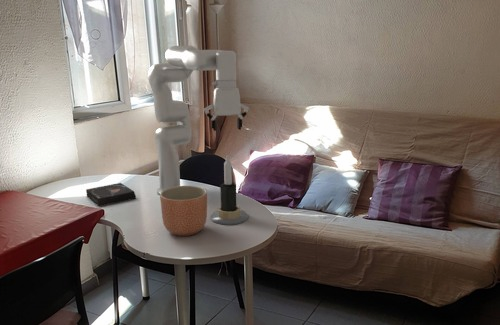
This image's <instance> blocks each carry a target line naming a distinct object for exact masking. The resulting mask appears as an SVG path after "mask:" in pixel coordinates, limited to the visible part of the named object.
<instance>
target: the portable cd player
mask: <svg viewBox="0 0 500 325" xmlns="http://www.w3.org/2000/svg"><path fill="white" fill-rule="evenodd" d="M85 192H86V197H87V198H88V199H89V200H90V201H91V202H93V203H94V204H95V205H96V206H97V207H103V206H107V205H111V204H117V203H122V202H125V201H130V200H131V201H132V200H135V199H136V197H137V196H136V192H135V191H134V190H133V189H131V188H130V187H128V186H126V185H124V184H123V183H122V182H117V183H112V184H107V185H102V186H97V187H91V188H87V189H86V190H85Z"/></svg>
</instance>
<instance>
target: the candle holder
mask: <svg viewBox="0 0 500 325" xmlns="http://www.w3.org/2000/svg"><path fill="white" fill-rule="evenodd" d="M236 207H237V210H235V211H231V212H226V211H222V210H221V205H220V206H218V207H217V210H215V211H213V212H212V213H211V214H210V220H211V221H212V222H213V223H215V224H219V225H223V226H235V225H239V224H243V223H244V222H246V221H247V220H248V219H249V218H248V217H249V214H248V212H247V211H244V210H242V209H241V207H240V206H239V205H237V204H236Z"/></svg>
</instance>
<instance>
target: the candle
mask: <svg viewBox="0 0 500 325" xmlns="http://www.w3.org/2000/svg"><path fill="white" fill-rule="evenodd" d="M223 171H224V172H223V174H224V175H223V176H224V178H223V179H224V182H222V184H219V188H220V206H221V210H222V211H226V212H231V211H235V210H237V207H236V205H237V184H235V183H234V182H233V178H232V177H233V176H232V175H233V174H232V173H233V172H232V162H231V161H230V157H229V155H228V154H227V155H226V158H225V161H224V162H223Z"/></svg>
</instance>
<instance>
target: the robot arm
mask: <svg viewBox="0 0 500 325" xmlns="http://www.w3.org/2000/svg"><path fill="white" fill-rule="evenodd" d="M164 55H165V56H164V57H165V61H167V62H165V63H164V62H160V63H156V64H153V65H151V67H150V68H149V70H148V73H147V79H148V84H149V87H150V89H151V93H152V98H153V100H152V101H153V106H154V107H153V108H154V115H155V118H156V122H158V123H160V124H172V123H176V124H174V125H166V126H165V125H164V126H160V127H159V128H157V129H156V130H155V132H154V135H153V136H154V142H155V145H156V151H157V159H158V160H157V161H158V175H159V176H158V177H159V188H157V189H156V193H157V195H160V193H161V192H162V191H164V190H165V189H168V188H171V187H176V186H181V178H180V177H181V175H180V174H181V173H180V160H179V159H180V156H179V153H178V151H177V150H176V149H175V147H176V146H182V145H186V144H189V143H190V142H191V140H192V136H193V135H192V123H191V114H190V110H189V107H188V105H187V103H186V102H185V101H182V100H176V101H175V100H173V93H172V90H171V88H170V86H168V83H182V82H186V81H187V80H188V79H189V78H190V76H191V75H192V74H193V72H194V71H199V72H200V71H201V72H203V71H215V81H212V84H211V85H212V86H215V87H214V90H213V96H212V97H213V99H212V102H213V103H211V104H210V105H208V106H206V107H205V108H203V111H204V113H205V115H206V116H207V118H209V119H210V120H211V121H210V123H211V126H210V128H211V129H212V130H213V132H215V131H217V121H216V118H217V117H219V116H220V117H222V116H223V117H224V116H227V117H228V116H237V121H236V122H237V127H236V128H237V129H238V130H240V131H241V129H242V127H243V119H244V118H245V117H246V115H247V113H248V112H249V109H250V107H249V106H247V105H245V104H243V103H241V95H240V89H239V88H238V87H237V54H236V52H235V51H234V50H222V49H198V48H197V47H195V46H193V45H173V46H170V47H169V48H168V49H167V50H166V51H165V54H164ZM242 109H243V111H242ZM209 110H212V114H211V113H210V111H209Z"/></svg>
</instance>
